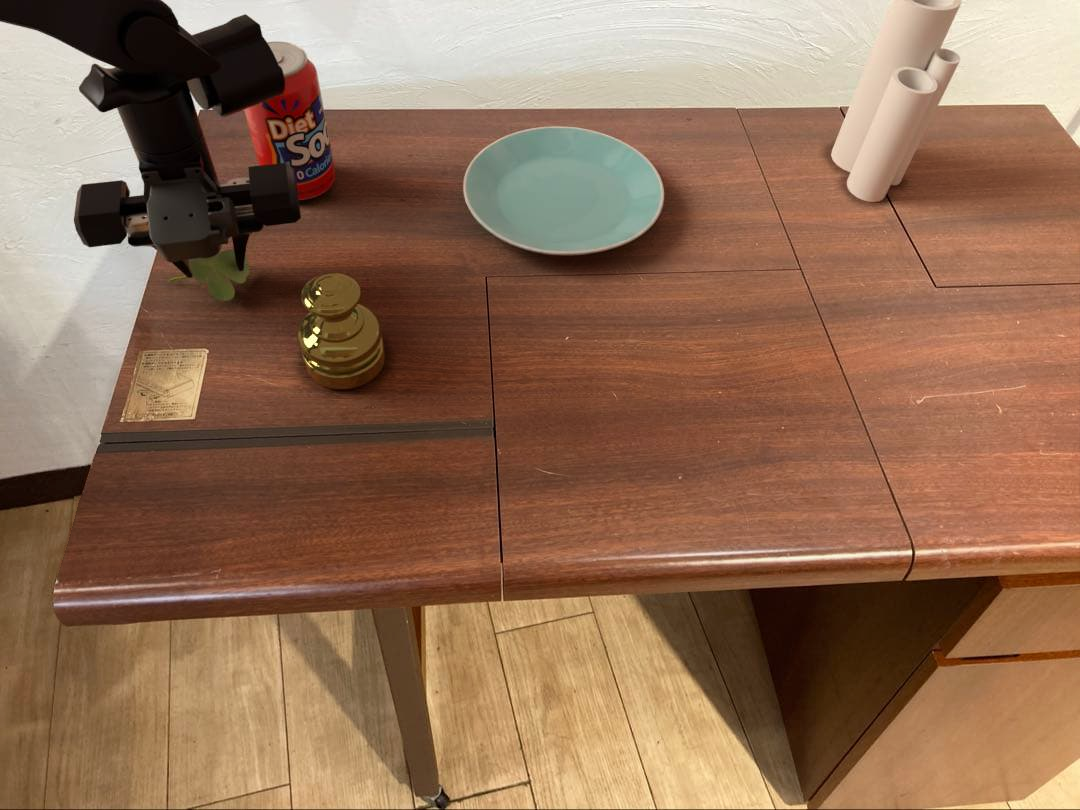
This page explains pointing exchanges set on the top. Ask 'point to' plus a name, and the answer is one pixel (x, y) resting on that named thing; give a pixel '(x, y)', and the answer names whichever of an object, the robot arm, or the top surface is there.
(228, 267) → the green clover leaf
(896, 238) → the top surface
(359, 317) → the brass weight
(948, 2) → the vase
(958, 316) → the top surface
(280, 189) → the robot arm
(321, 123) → the soda can
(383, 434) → the top surface
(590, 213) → the plate
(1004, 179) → the top surface
